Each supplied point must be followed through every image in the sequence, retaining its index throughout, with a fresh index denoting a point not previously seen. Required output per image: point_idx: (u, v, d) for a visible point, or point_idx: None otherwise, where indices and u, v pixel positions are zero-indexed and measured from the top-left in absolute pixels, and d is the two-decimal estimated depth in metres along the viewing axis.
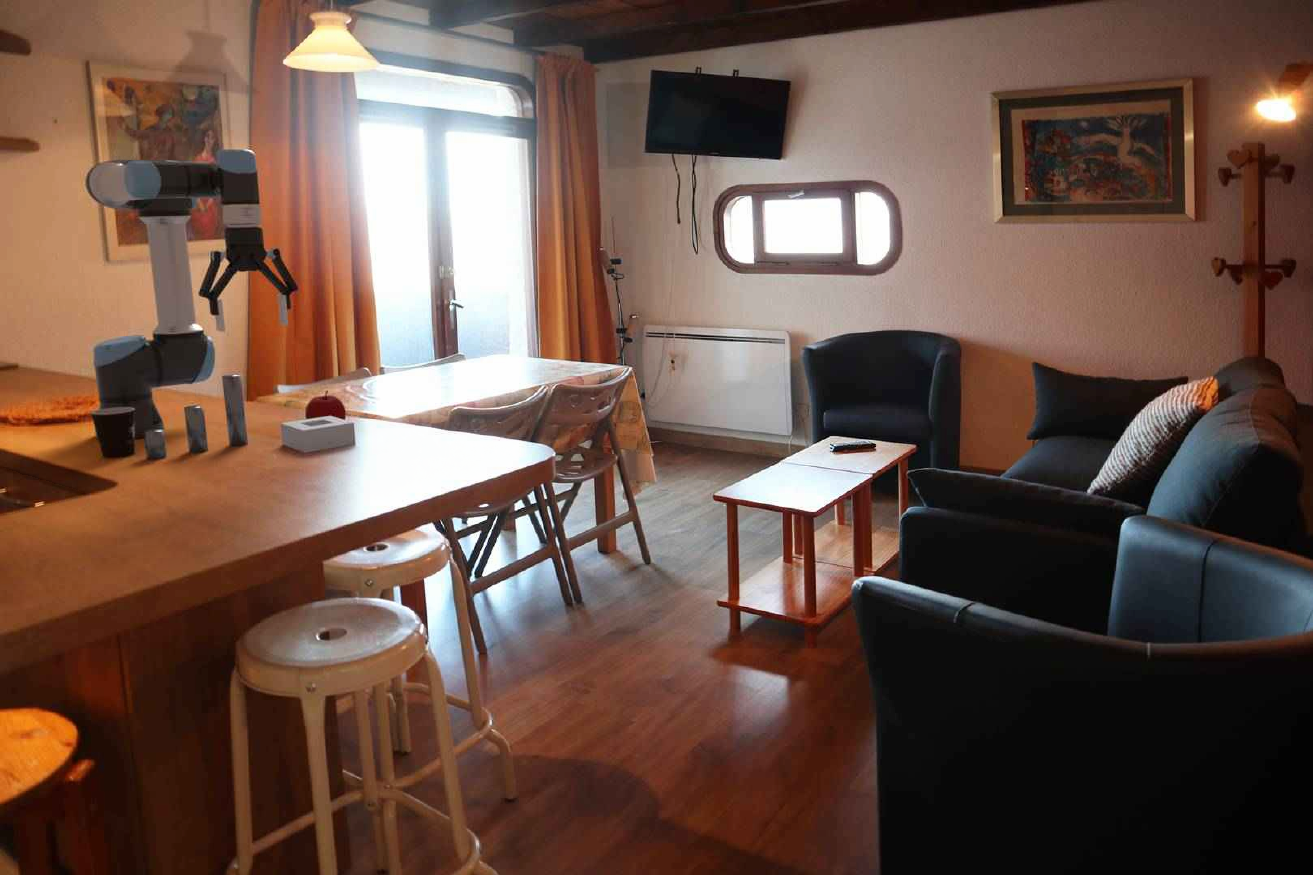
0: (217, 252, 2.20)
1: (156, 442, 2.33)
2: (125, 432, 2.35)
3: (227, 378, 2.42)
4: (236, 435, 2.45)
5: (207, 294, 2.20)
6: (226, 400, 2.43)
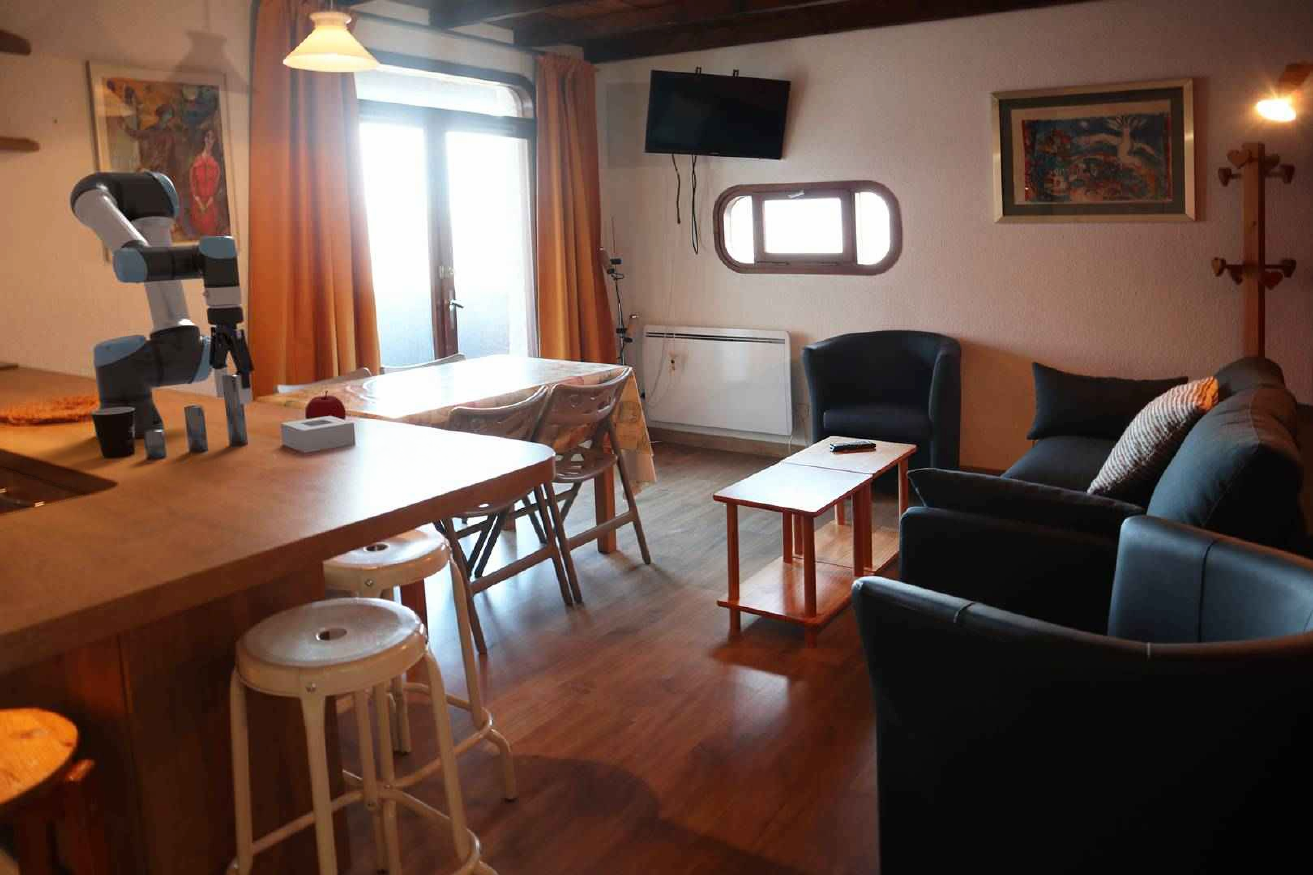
0: (211, 328, 2.45)
1: (156, 442, 2.33)
2: (125, 432, 2.35)
3: (227, 378, 2.42)
4: (236, 435, 2.45)
5: (210, 363, 2.49)
6: (226, 400, 2.43)
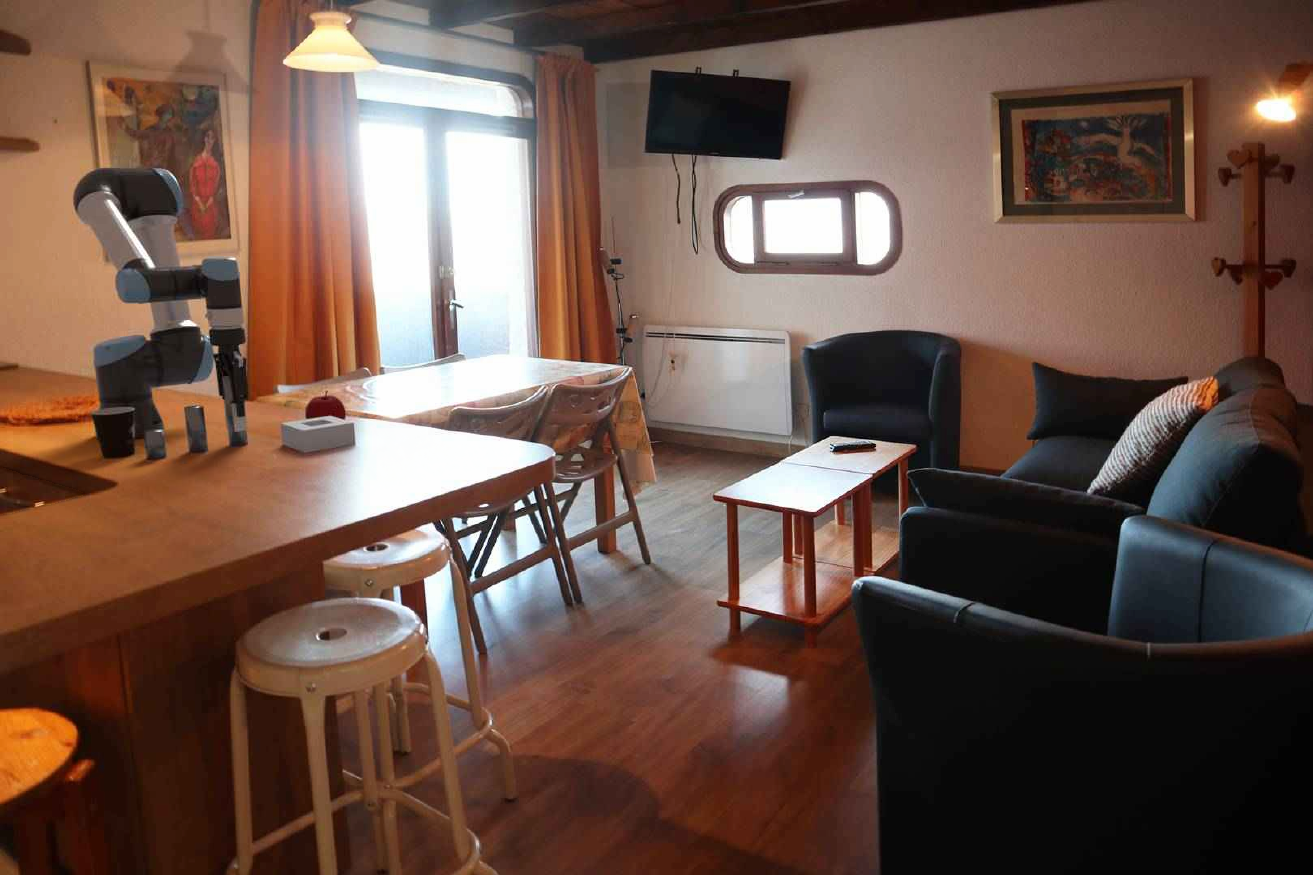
0: (213, 355, 2.47)
1: (156, 442, 2.33)
2: (125, 432, 2.35)
3: (227, 378, 2.42)
4: (236, 435, 2.45)
5: (220, 393, 2.47)
6: (226, 400, 2.43)
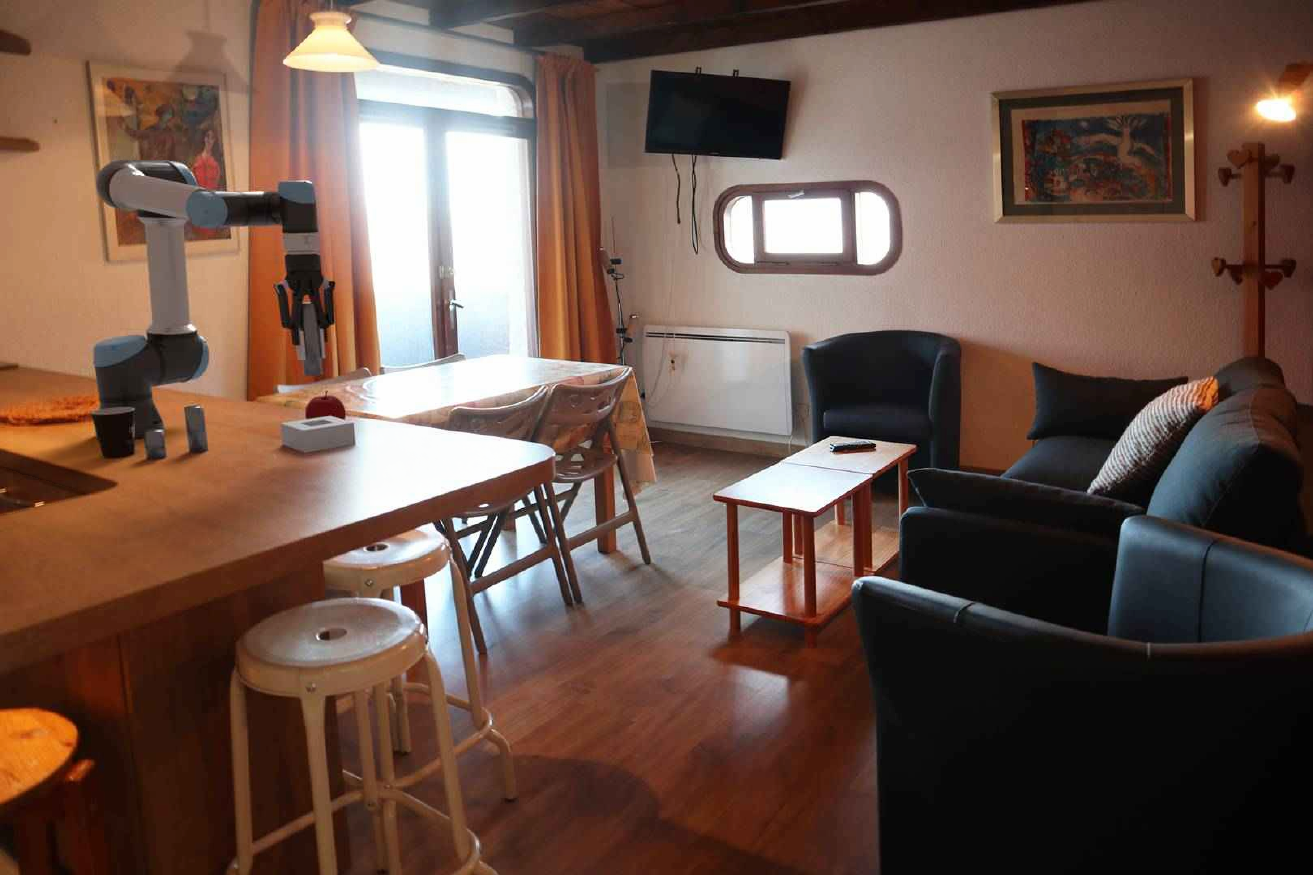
0: (280, 285, 2.33)
1: (156, 442, 2.33)
2: (125, 432, 2.35)
3: (315, 304, 2.38)
4: None
5: (290, 325, 2.35)
6: (314, 327, 2.39)
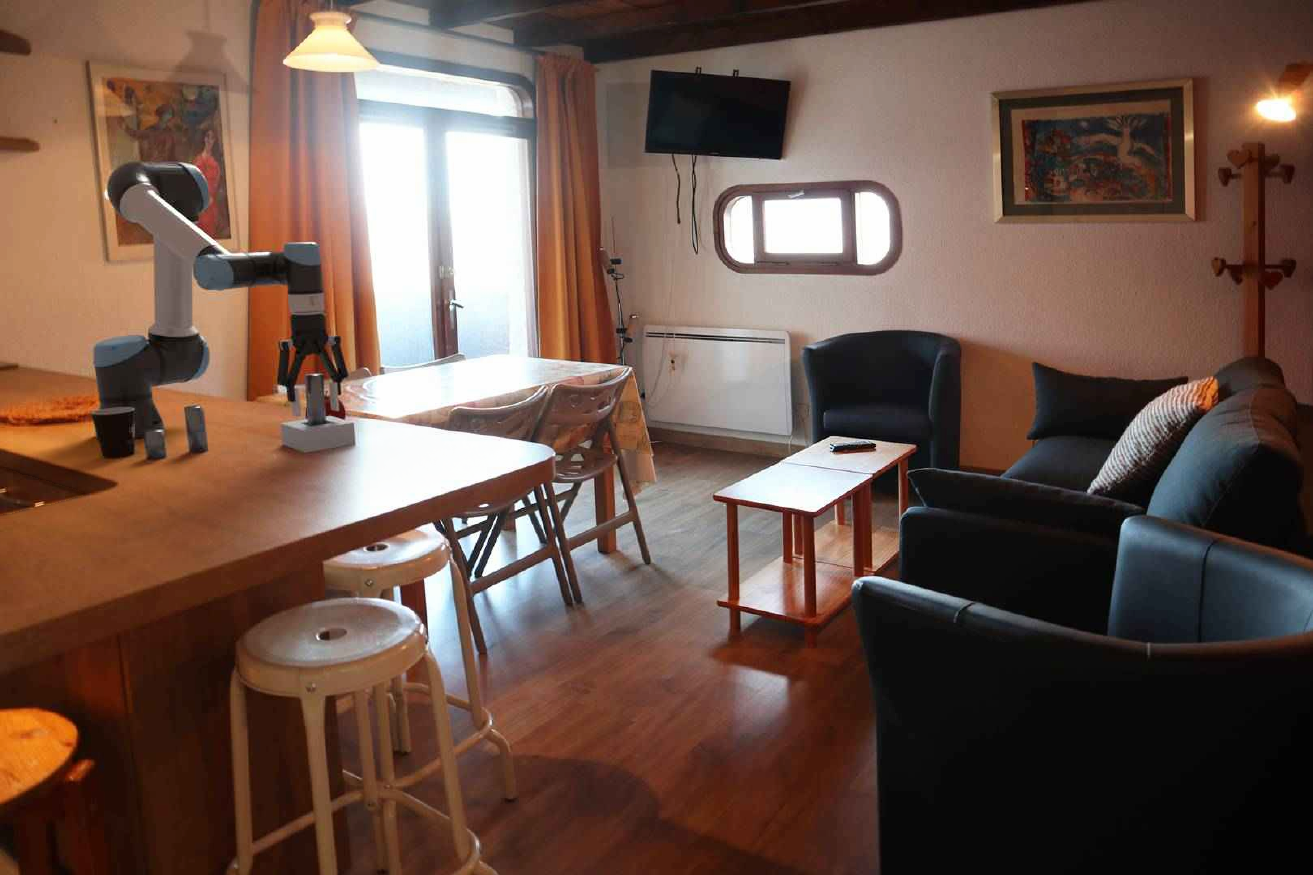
0: (284, 342, 2.35)
1: (156, 442, 2.33)
2: (125, 432, 2.35)
3: (322, 376, 2.42)
4: None
5: (285, 382, 2.37)
6: (321, 399, 2.42)
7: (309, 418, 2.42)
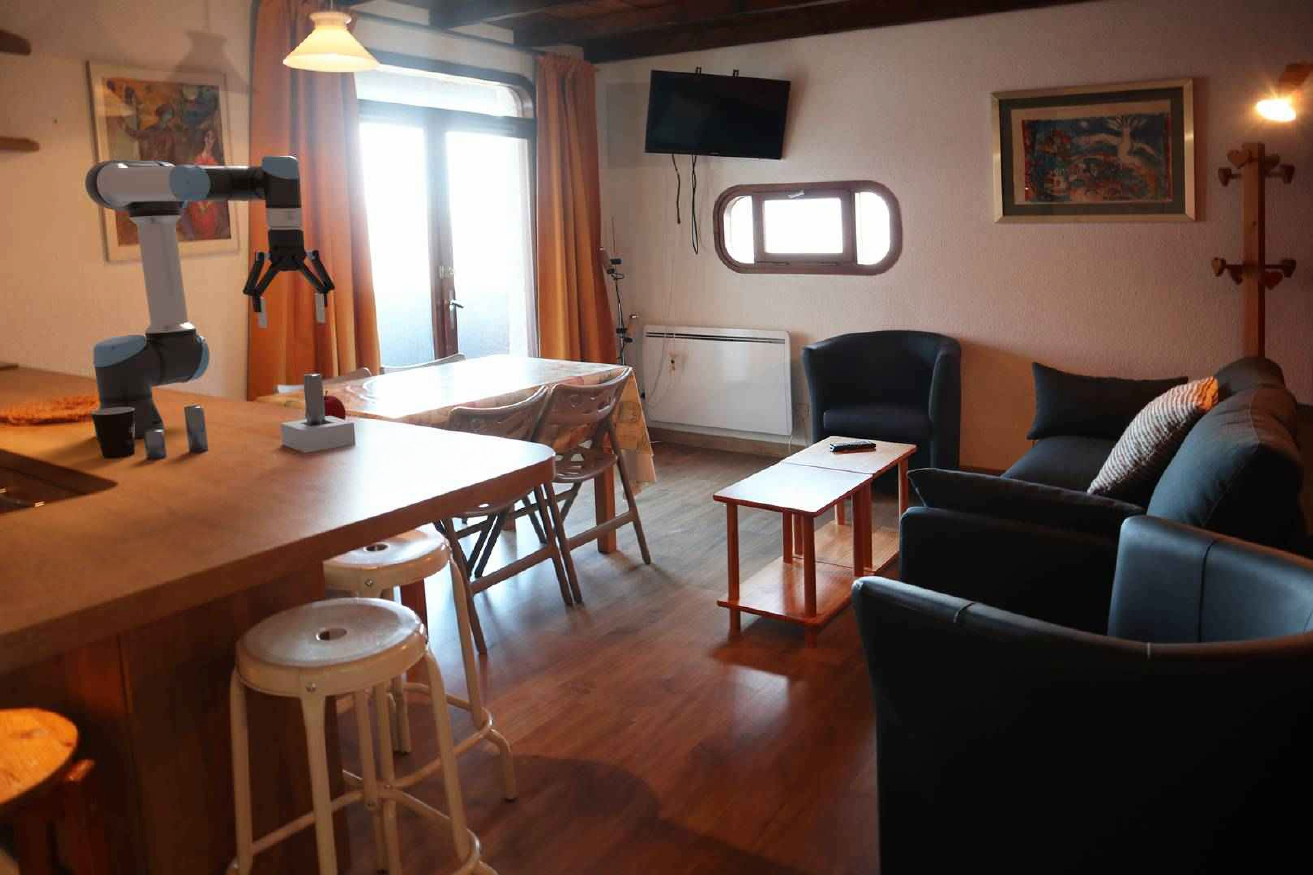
0: (261, 253, 2.33)
1: (156, 442, 2.33)
2: (125, 432, 2.35)
3: (321, 376, 2.42)
4: None
5: (251, 292, 2.33)
6: (320, 399, 2.42)
7: (308, 418, 2.42)
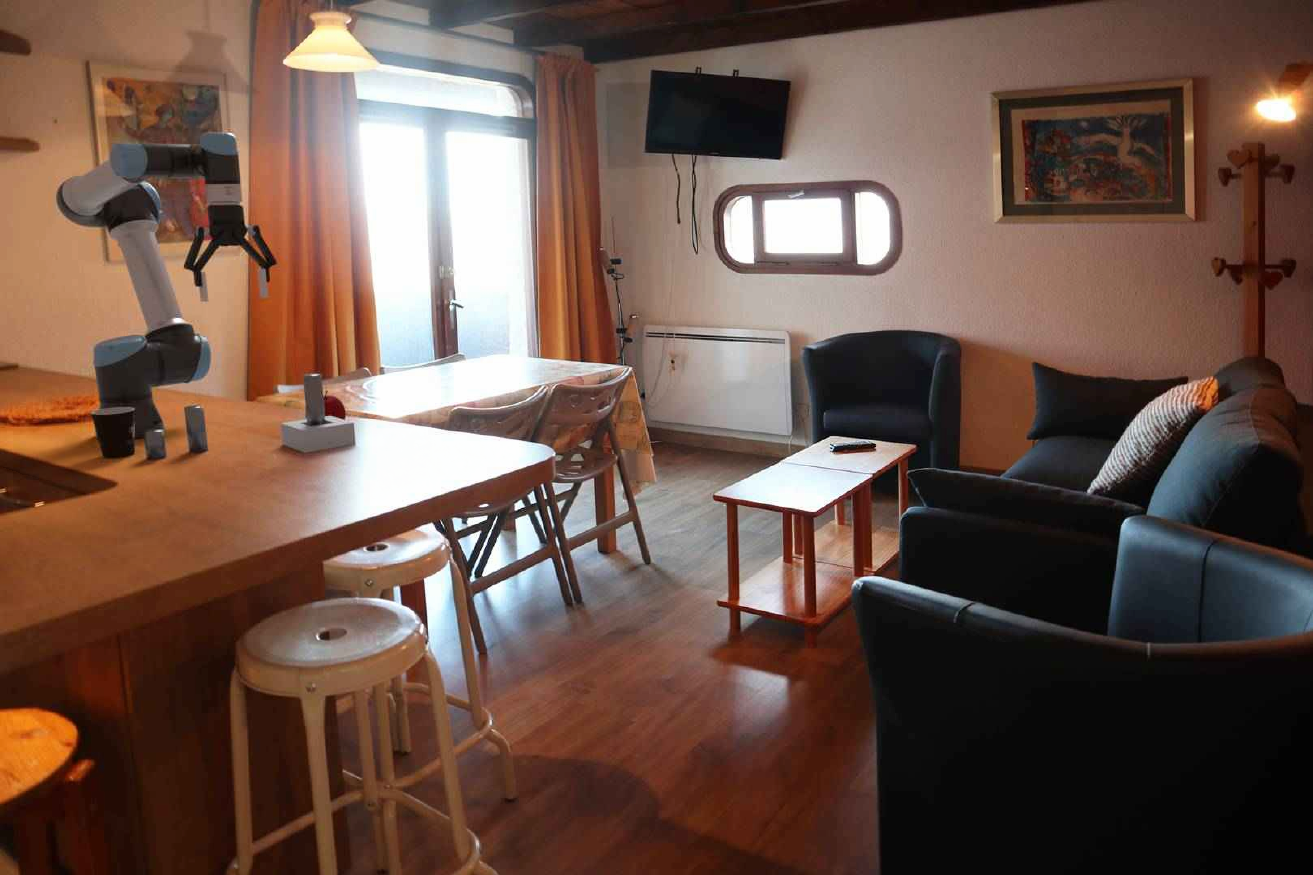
0: (201, 228, 2.37)
1: (156, 442, 2.33)
2: (125, 432, 2.35)
3: (320, 376, 2.42)
4: None
5: (191, 267, 2.37)
6: (320, 399, 2.42)
7: (308, 418, 2.42)
